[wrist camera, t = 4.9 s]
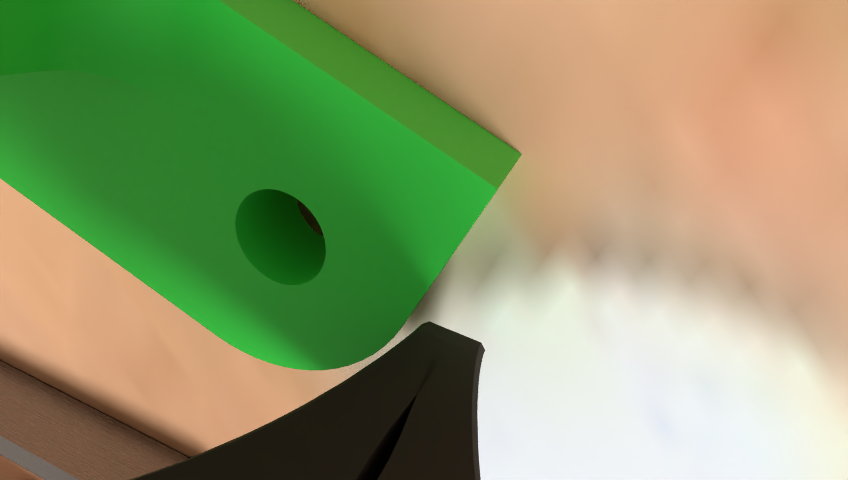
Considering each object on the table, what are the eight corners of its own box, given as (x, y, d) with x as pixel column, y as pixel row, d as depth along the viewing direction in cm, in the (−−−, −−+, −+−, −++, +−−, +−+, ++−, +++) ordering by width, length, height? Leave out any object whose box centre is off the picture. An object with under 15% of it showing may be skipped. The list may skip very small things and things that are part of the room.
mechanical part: (-21, 78, 13) (-773, 166, 6) (-13, -205, 10) (-1557, -709, 3) (377, 362, 12) (47, 839, 5) (521, 153, 9) (184, 644, 2)
